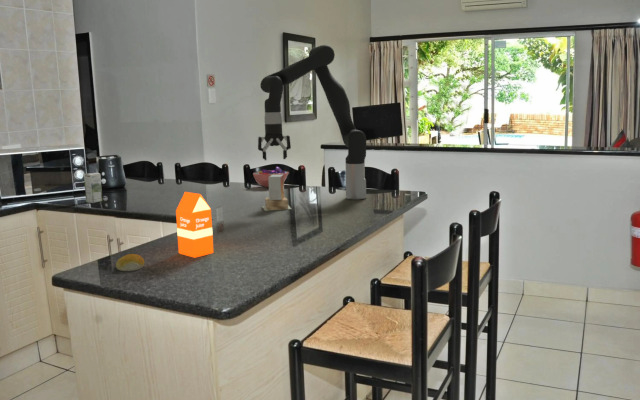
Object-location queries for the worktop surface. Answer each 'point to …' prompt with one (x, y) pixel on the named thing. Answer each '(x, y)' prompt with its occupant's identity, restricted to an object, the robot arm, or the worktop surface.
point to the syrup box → (93, 187)
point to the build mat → (277, 209)
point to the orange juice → (194, 226)
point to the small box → (276, 187)
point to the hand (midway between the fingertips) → (274, 159)
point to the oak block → (276, 204)
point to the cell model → (263, 176)
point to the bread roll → (130, 262)
